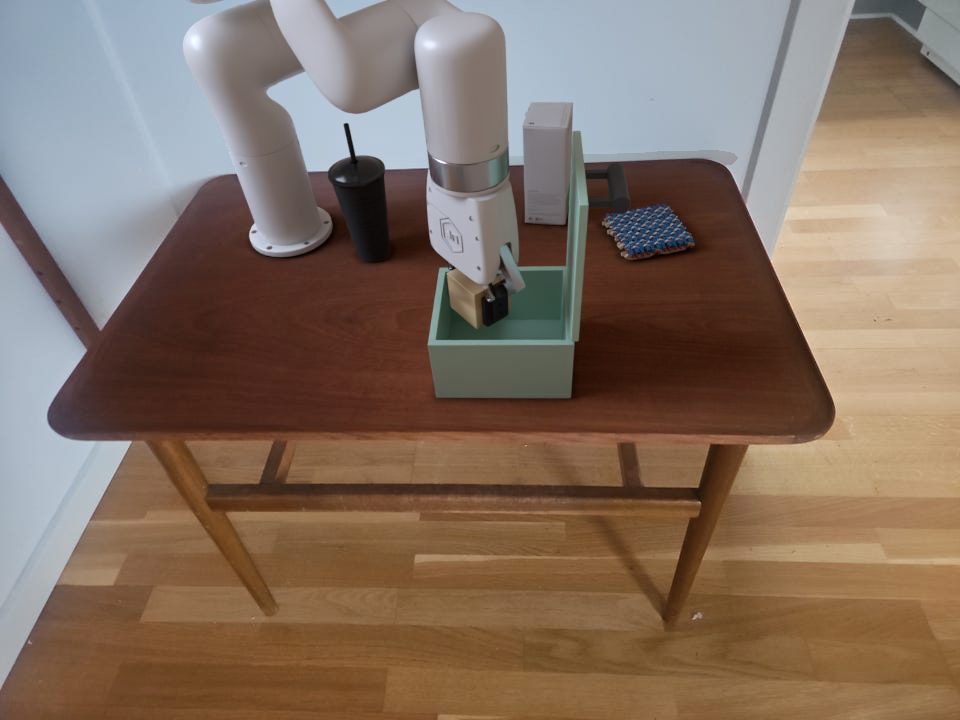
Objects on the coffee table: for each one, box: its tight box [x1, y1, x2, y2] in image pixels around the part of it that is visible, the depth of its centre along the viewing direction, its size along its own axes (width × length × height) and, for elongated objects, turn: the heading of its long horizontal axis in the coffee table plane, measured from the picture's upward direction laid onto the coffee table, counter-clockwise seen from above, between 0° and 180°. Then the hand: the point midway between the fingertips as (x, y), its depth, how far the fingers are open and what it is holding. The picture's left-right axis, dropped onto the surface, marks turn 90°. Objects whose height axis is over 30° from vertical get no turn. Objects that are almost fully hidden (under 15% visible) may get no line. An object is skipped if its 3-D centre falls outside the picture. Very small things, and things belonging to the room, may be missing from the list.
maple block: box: [447, 268, 512, 329], centre depth 72 cm, size 5×5×5 cm
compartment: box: [427, 265, 575, 399], centre depth 76 cm, size 16×13×9 cm
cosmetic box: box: [522, 101, 574, 226], centre depth 95 cm, size 8×7×16 cm
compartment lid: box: [565, 130, 632, 342], centre depth 66 cm, size 17×13×5 cm
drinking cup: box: [327, 122, 391, 264], centre depth 88 cm, size 8×8×20 cm
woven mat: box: [601, 203, 696, 261], centre depth 93 cm, size 10×11×2 cm
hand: (480, 306), depth 73 cm, fingers closed on maple block, 5 cm apart
